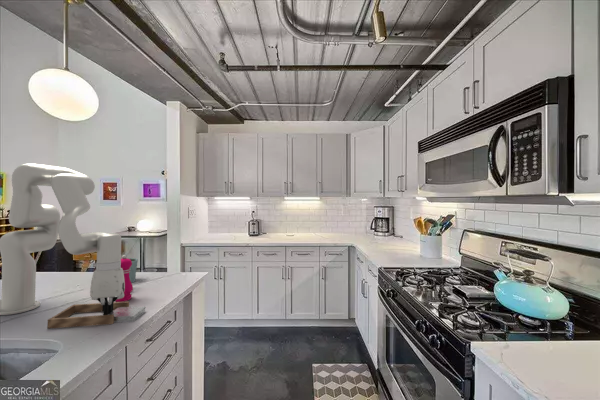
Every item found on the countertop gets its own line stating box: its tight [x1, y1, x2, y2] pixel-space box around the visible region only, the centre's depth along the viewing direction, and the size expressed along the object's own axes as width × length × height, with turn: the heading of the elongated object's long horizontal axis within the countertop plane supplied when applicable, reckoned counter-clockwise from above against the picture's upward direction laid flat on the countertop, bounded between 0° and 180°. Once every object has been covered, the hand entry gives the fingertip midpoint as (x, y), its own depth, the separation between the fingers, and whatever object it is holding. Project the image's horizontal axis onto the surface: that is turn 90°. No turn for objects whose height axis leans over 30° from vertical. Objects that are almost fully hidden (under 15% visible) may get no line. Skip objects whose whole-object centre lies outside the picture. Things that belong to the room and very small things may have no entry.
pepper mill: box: [115, 254, 134, 302], centre depth 120 cm, size 7×7×20 cm
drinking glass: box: [128, 257, 139, 284], centre depth 146 cm, size 10×10×12 cm
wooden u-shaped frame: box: [46, 301, 130, 329], centre depth 100 cm, size 20×14×3 cm
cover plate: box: [108, 306, 146, 323], centre depth 102 cm, size 10×9×2 cm
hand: (107, 314), depth 101 cm, fingers closed
